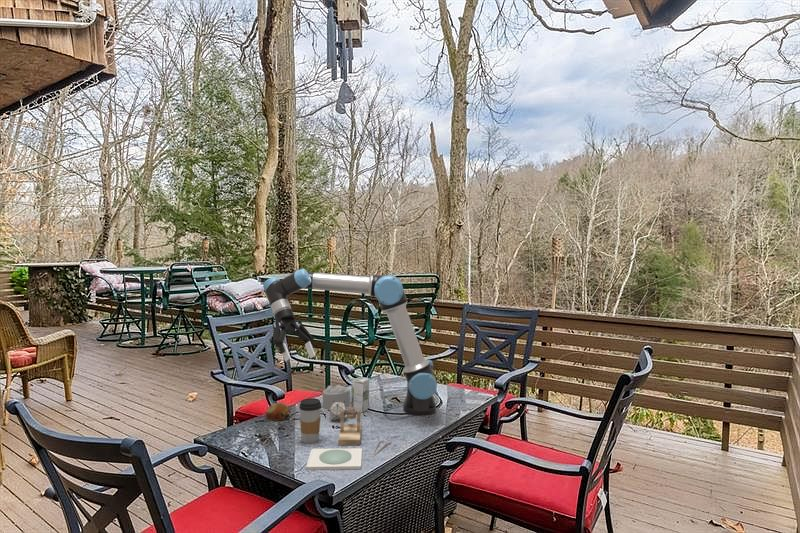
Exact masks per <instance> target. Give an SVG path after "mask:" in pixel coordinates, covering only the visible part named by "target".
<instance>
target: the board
mask: <svg viewBox="0 0 800 533" xmlns="http://www.w3.org/2000/svg"><path fill="white" fill-rule="evenodd" d="M362 459H363V447H361V448H360V447H359V448H356V447H355V448H349V447H348V448H311V451H310V454H309V457H308V460H307V463H306V467H305V470H306V471H317V470H318V471H319V470H323V471H324V470H326V471H327V470H334V471H335V470H339V471H340V470H362V461H363V460H362Z"/></svg>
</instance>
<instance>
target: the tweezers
mask: <svg viewBox="0 0 800 533" xmlns="http://www.w3.org/2000/svg"><path fill="white" fill-rule="evenodd" d="M383 442H384V440H383V439H382V440H378V443H377V445H376V447H375V449H374V452H373V453H372V456H371V457H372V458H374V457H375V456H376V455H377V454H379V451H380V452H381V451H382V450H384V448H386V447H387V446H389V445H390V444H392V441H389V440H388V441H387V442H386V443H385V444H384V445H383V446H381V448H380V445H381V443H383ZM388 444H389V445H388ZM385 446H386V447H385ZM378 448H379V449H378ZM376 449H378V451H377V450H376Z"/></svg>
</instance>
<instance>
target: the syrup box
mask: <svg viewBox="0 0 800 533" xmlns="http://www.w3.org/2000/svg"><path fill="white" fill-rule="evenodd" d="M351 384H352V386H351V387H352V388H351V390H352V391H351V407H353V408H354V409H355V411H357V410H360V414H363V413H365V412H367V411H368V410H369V402H370V378H367V377H363V376H359V377H357V378H354V379H352V383H351Z"/></svg>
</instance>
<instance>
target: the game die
mask: <svg viewBox="0 0 800 533" xmlns="http://www.w3.org/2000/svg"><path fill="white" fill-rule="evenodd" d="M333 402H334V401H333ZM326 410H327V409H326ZM341 410H344V411H348V409H347V407H346V406H345V401H344V402H334V403H333V405H332V406H331V408H330V410H327V412H329V414H330V417H331V422H333V421H338V420H339V421H341ZM345 417H346V415H344V418H345Z"/></svg>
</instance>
